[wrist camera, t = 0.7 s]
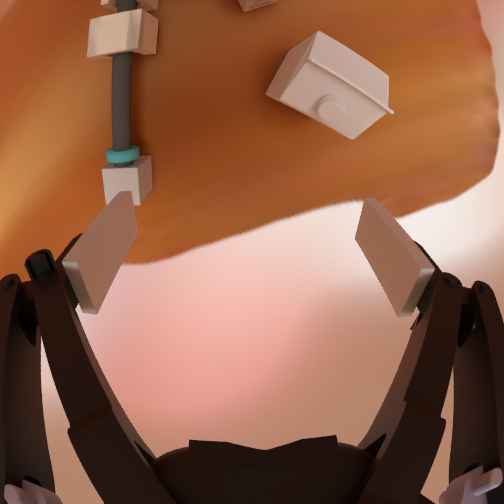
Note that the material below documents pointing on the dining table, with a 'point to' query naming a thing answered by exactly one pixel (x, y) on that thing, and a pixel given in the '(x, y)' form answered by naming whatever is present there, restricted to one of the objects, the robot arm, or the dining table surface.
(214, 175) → the dining table surface
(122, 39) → the sleeve
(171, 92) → the dining table surface
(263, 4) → the supplement box
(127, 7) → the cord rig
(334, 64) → the milk carton
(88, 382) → the robot arm
